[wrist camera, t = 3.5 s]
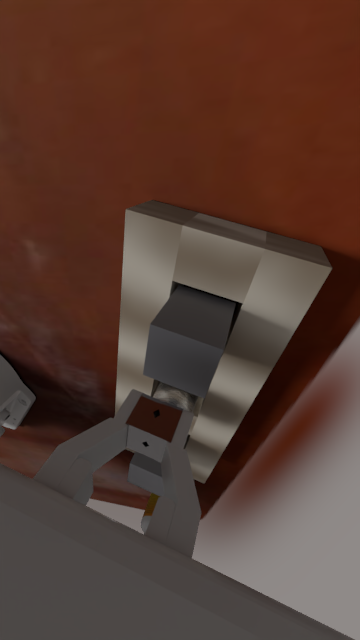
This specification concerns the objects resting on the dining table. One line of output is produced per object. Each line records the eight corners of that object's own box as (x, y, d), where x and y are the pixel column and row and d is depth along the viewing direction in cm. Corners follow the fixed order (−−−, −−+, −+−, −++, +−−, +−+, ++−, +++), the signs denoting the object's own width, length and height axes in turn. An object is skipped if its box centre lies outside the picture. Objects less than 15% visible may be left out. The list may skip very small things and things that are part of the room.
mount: (211, 451, 33) (204, 483, 29) (128, 417, 34) (113, 443, 31) (321, 246, 16) (332, 268, 13) (152, 199, 18) (125, 209, 15)
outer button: (219, 347, 19) (204, 398, 15) (169, 329, 19) (142, 374, 15) (236, 303, 16) (223, 350, 12) (179, 284, 17) (150, 324, 13)
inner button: (180, 450, 28) (164, 498, 24) (147, 436, 29) (127, 481, 25) (187, 431, 26) (171, 481, 22) (151, 416, 26) (130, 463, 22)
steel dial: (194, 406, 23) (175, 465, 19) (158, 392, 24) (132, 447, 19) (203, 382, 21) (184, 442, 17) (164, 367, 22) (136, 421, 17)
